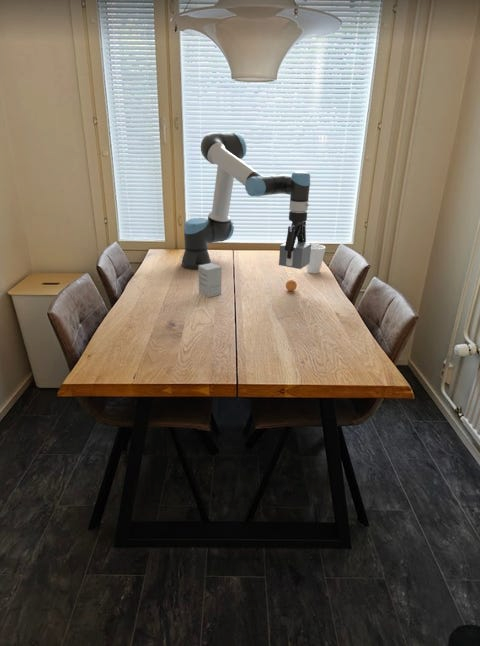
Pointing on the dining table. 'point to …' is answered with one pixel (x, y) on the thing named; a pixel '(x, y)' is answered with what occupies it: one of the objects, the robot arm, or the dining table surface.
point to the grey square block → (296, 255)
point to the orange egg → (291, 285)
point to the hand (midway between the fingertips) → (294, 262)
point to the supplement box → (209, 279)
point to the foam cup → (315, 258)
